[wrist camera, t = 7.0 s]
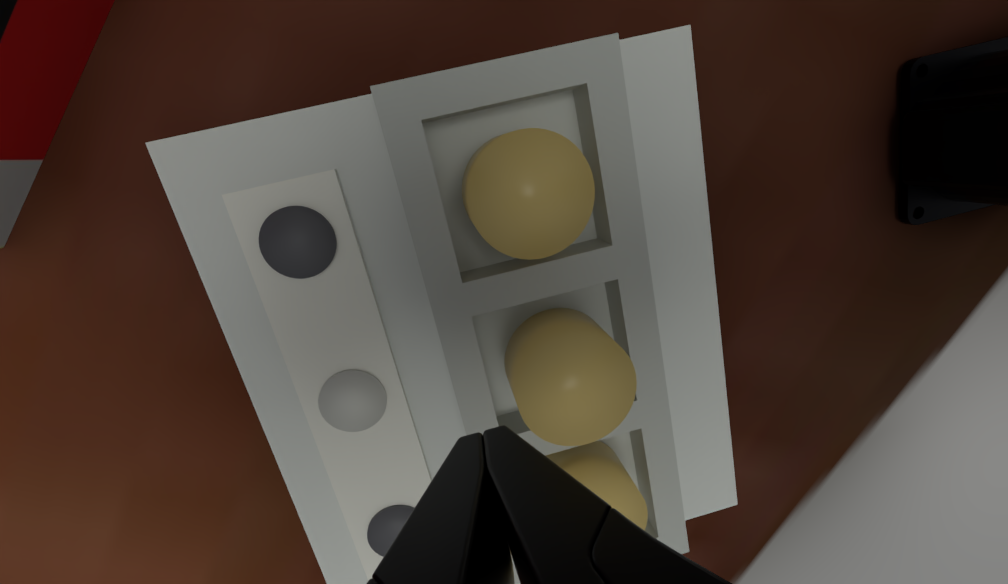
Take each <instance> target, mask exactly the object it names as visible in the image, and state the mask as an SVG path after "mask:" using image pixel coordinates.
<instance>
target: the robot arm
mask: <svg viewBox="0 0 1008 584" xmlns="http://www.w3.org/2000/svg"><path fill="white" fill-rule="evenodd" d="M917 68H918V75H916V70H917ZM995 204H997V205H1008V37H1005V38H1001V39H996V40H992V41H988V42H983V43H979V44H975V45H971V46H966V47H962V48H958V49H953V50H949V51H945V52H940V53H936V54H932V55H927V56H923V57H919V58H914V59H911V60H909V61H908V62H907V63H906V64H905V65H904V66H903V68H902V71H901V92H900V167H899V218H900V220H901V222H903V223H905V224H911V225H919V224H923V223H927V222H930V221H934V220H938V219H942V218H946V217H950V216H953V215H957V214H961V213H965V212H969V211H972V210H976V209H980V208H984V207H988V206H991V205H995ZM914 210H915V213H914V215H913V212H914ZM511 555H512V557H511ZM512 558H513V562H514V565H515V568H516V571H517V575H518V578H519V581H520V584H732V583H730V582H728V581H726V580H725V579H723V578H721V577H719V576H718V575H716V574H714V573H713V572H711V571H709V570H707V569H706V568H704V567H702V566H700V565H699V564H697V563H695V562H693V561H692V560H690V559H688V558H687V557H685V556H683V555H682V554H680V553H679V552H677V551H675V550H674V549H672V548H670V547H669V546H667V545H666V544H664V543H662V542H661V541H659V540H657V539H656V538H654V537H653V536H651V535H650V534H649V533H647V532H646V531H644V530H643V529H642V528H640V527H639V526H637V525H636V524H635V523H633V522H632V521H630V520H629V519H628V518H626V517H625V516H624V515H622V514H621V513H620V512H619V511H617V510H616V509H614V508H612V507H611V506H610V505H609V504H608V503H607V502H605V501H604V500H603V499H601V498H600V497H599V496H597V495H596V494H595V493H593V492H592V491H591V490H589V489H588V488H587V487H586V486H584V485H583V484H582V483H580V482H579V481H578V480H576V479H575V478H574V477H572V476H571V475H570V474H569V473H567V472H566V471H565V470H563V469H562V468H561V467H559V466H558V465H557V464H555V463H554V462H553V461H551V460H550V459H549V458H548V457H546V456H545V455H544V454H542V453H541V452H540V451H538V450H537V449H536V448H534V447H533V446H532V445H530V444H529V443H528V442H527V441H525V440H524V439H523V438H521V437H520V436H519V435H517V434H516V433H515V432H513V431H512V430H511V429H510V428H508V427H507V426H505V425H502V426H498V427H495V428H491V429H487V430H485V431H484V432H483V435H482V433H480V432H477V433H473V434H469V435H466V436H462V437H460V438H459V439H458V440H457V441H456V443H455V445H454V446H453V448H452V449H451V451H450V453H449V454H448V456H447V457H446V459H445V460H444V462H443V464H442V465H441V467H440V468H439V470H438V472H437V473H436V475H435V476H434V478H433V479H432V481H431V483H430V484H429V486H428V487H427V489H426V491H425V492H424V494H423V495H422V497H421V498H420V500H419V502H418V503H417V505H416V506H415V508H414V510H413V511H412V513H411V514H410V516H409V517H408V519H407V521H406V522H405V524H404V525H403V527H402V529H401V530H400V532H399V533H398V535H397V537H396V538H395V540H394V541H393V543H392V544H391V546H390V548H389V549H388V551H387V552H386V554H385V556H384V557H383V559H382V560H381V562H380V563H379V565H378V567H377V568H376V570H375V571H374V573H373V575H372V579H369V581H368V582H367V584H515V580H514V571H513V563H512Z"/></svg>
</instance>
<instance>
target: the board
mask: <svg viewBox="0 0 1008 584" xmlns="http://www.w3.org/2000/svg"><path fill="white" fill-rule="evenodd" d="M370 89H371V92H372V94H368V95H364V96H359V97H354V98H350V99H345V100H340V101H336V102H331V103H327V104H322V105H317V106H313V107H308V108H304V109H299V110H294V111H290V112H285V113H280V114H276V115H271V116H267V117H262V118H257V119H253V120H248V121H244V122H239V123H234V124H230V125H225V126H221V127H216V128H211V129H207V130H202V131H197V132H193V133H188V134H184V135H179V136H174V137H170V138H165V139H161V140H156V141H151V142H147V143H145V144H146V146H147V149H148V151H149V153H150V156H151V158H152V161H153V163H154V166H155V168H156V170H157V173H158V175H159V178H160V180H161V182H162V185H163V187H164V190H165V192H166V195H167V197H168V199H169V202H170V204H171V207H172V209H173V212H174V214H175V216H176V219H177V221H178V224H179V226H180V229H181V231H182V233H183V236H184V238H185V241H186V243H187V246H188V248H189V250H190V253H191V255H192V258H193V260H194V262H195V265H196V267H197V270H198V272H199V275H200V277H201V279H202V282H203V284H204V287H205V289H206V292H207V294H208V296H209V299H210V301H211V304H212V306H213V309H214V311H215V313H216V316H217V318H218V321H219V323H220V326H221V328H222V330H223V333H224V335H225V338H226V340H227V342H228V345H229V347H230V350H231V352H232V355H233V357H234V359H235V362H236V364H237V367H238V369H239V372H240V374H241V376H242V379H243V381H244V384H245V386H246V389H247V391H248V393H249V396H250V398H251V401H252V403H253V406H254V408H255V410H256V413H257V415H258V418H259V420H260V422H261V425H262V427H263V430H264V432H265V435H266V437H267V439H268V442H269V444H270V447H271V449H272V452H273V454H274V456H275V459H276V461H277V464H278V466H279V469H280V471H281V473H282V476H283V478H284V481H285V483H286V486H287V488H288V490H289V493H290V495H291V498H292V500H293V503H294V505H295V507H296V510H297V512H298V515H299V517H300V519H301V522H302V524H303V527H304V529H305V532H306V534H307V536H308V539H309V541H310V544H311V546H312V549H313V551H314V553H315V556H316V558H317V561H318V563H319V566H320V568H321V570H322V573H323V575H324V578H325V580H326V583H327V584H367V582H368V581H369V579H372V575H373V573H374V571H375V570H376V568H377V567H378V565H379V563H380V562H381V560H382V559H383V557H384V556H385V554H386V552H387V551H388V549H389V548H390V546H391V544H392V543H393V541H394V540H395V538H396V537H397V535H398V533H399V532H400V530H401V529H402V527H403V525H404V524H405V522H406V521H407V519H408V517H409V516H410V514H411V513H412V511H413V510H414V508H415V506H416V505H417V503H418V502H419V500H420V498H421V497H422V495H423V494H424V492H425V491H426V489H427V487H428V486H429V484H430V483H431V481H432V479H433V478H434V476H435V475H436V473H437V472H438V470H439V468H440V467H441V465H442V464H443V462H444V460H445V459H446V457H447V456H448V454H449V453H450V451H451V449H452V448H453V446H454V445H455V443H456V441H457V440H458V439H459V438H460V437H462V436H466V435H469V434H473V433H477V432H480V433H482V435H483V432H484V431H485V430H487V429H491V428H495V427H498V426H502V425H505V426H507V427H508V428H510V429H511V430H512V431H513V432H515V433H516V434H517V435H519V436H520V437H521V438H523V439H524V440H525V441H527V442H528V443H529V444H530V445H532V446H533V447H534V448H536V449H537V450H538V451H540V452H541V453H542V454H544V455H545V456H546V455H549V454H553V453H556V452H560V451H563V450H567V449H570V448H574V447H577V446H561V445H556V444H552V443H550V442H547V441H545V440H543V439H541V438H540V437H538V436H537V435H535V434H534V433H533V432H532V431H531V430H530V429H529V428H528V427H527V425H526V424H525V422H524V421H523V419H522V417H521V414H520V412H519V409H518V406H517V403H516V401H515V398H514V395H513V392H512V390H511V387H510V384H509V381H508V379H507V375H506V372H505V364H504V359H505V352H506V348H507V345H508V342H509V340H510V338H511V336H512V335H513V333H514V332H515V330H516V329H517V328H518V327H519V326H520V325H521V324H522V323H523V322H524V321H525V320H527V319H528V318H529V317H531V316H533V315H534V314H537V313H539V312H541V311H544V310H548V309H553V308H569V309H574V310H577V311H580V312H582V313H584V314H586V315H588V316H589V317H590V318H592V319H593V320H594V321H595V322H596V323H597V324H598V325H599V326H600V327H601V328H602V329H603V330H604V331H605V332H606V333H607V334H608V335H609V336H610V337H611V338H612V339H613V340H614V341H615V342H616V343H617V344H618V345H619V346H620V347H622V348H623V349H624V351H625V352H626V353H627V354H628V356H629V357H630V359H631V361H632V363H633V366H634V368H635V372H636V379H637V388H636V395H635V399H634V402H633V405H632V407H631V409H630V411H629V413H628V414H627V416H626V417H625V419H624V420H623V421H622V422H621V424H620V425H619V426H618V427H617V428H616V429H614V430H613V431H612V432H611V433H609V434H608V435H606V436H605V437H603V438H601V439H599V440H597V441H600V442H603V443H604V444H606V445H608V446H609V447H610V448H611V449H612V450H613V451H614V452H615V453H616V455H617V457H618V458H619V460H620V461H621V463H622V465H623V466H624V468H625V469H626V471H627V472H628V474H629V476H630V477H631V479H632V480H633V482H634V483H635V485H636V487H637V488H638V490H639V491H640V493H641V495H642V496H643V498H644V500H645V502H646V505H647V510H648V520H647V525H646V528H645V531H646V532H647V533H649V534H650V535H651V536H653V537H654V538H656V539H657V540H659V541H661V542H662V543H664V544H666V545H667V546H669V547H670V548H672V549H674V550H675V551H677V552H679V553H680V554H683V553H686V552H689V546H688V539H687V532H686V524H685V520H688V519H692V518H695V517H698V516H701V515H705V514H708V513H711V512H715V511H718V510H721V509H725V508H728V507H731V506H734V505H738V504H737V494H736V484H735V473H734V463H733V453H732V443H731V433H730V422H729V412H728V402H727V392H726V382H725V371H724V361H723V351H722V341H721V331H720V321H719V310H718V300H717V290H716V280H715V270H714V259H713V249H712V239H711V229H710V219H709V208H708V198H707V188H706V178H705V168H704V157H703V147H702V137H701V127H700V117H699V107H698V96H697V86H696V76H695V66H694V56H693V45H692V35H691V25H687V26H682V27H677V28H673V29H668V30H663V31H659V32H654V33H650V34H645V35H640V36H636V37H631V38H627V39H622V40H619V35H618V33H615V34H610V35H605V36H601V37H596V38H591V39H587V40H582V41H578V42H573V43H568V44H564V45H559V46H554V47H550V48H545V49H540V50H536V51H531V52H526V53H522V54H517V55H513V56H508V57H503V58H499V59H494V60H489V61H485V62H480V63H475V64H471V65H466V66H462V67H457V68H452V69H448V70H443V71H438V72H434V73H429V74H424V75H420V76H415V77H410V78H406V79H401V80H397V81H392V82H387V83H383V84H378V85H373V86H370ZM525 128H540V129H546V130H550V131H554V132H556V133H558V134H560V135H562V136H564V137H566V138H567V139H569V140H570V141H571V142H572V143H574V144H575V145H576V146H577V147H578V149H579V150H580V151H581V152H582V154H583V155H584V156H585V158H586V160H587V162H588V164H589V166H590V168H591V171H592V174H593V179H594V185H595V199H594V206H593V210H592V213H591V216H590V219H589V221H588V223H587V225H586V227H585V228H584V230H583V231H582V233H581V234H580V235H579V237H578V238H577V239H576V240H575V241H574V242H573V243H572V244H570V245H569V246H568V247H567V248H565V249H564V250H562V251H560V252H559V253H556V254H554V255H552V256H549V257H546V258H541V259H532V260H527V259H518V258H514V257H511V256H508V255H505V254H503V253H501V252H499V251H498V250H496V249H495V248H493V247H492V246H491V245H490V244H489V243H487V242H486V241H485V239H484V238H483V237H482V236H481V235H480V233H479V232H478V230H477V229H476V227H475V226H474V224H473V223H472V221H471V220H470V218H469V217H468V214H467V212H466V210H465V207H464V204H463V198H462V180H463V176H464V172H465V169H466V166H467V164H468V162H469V161H470V159H471V157H472V156H473V154H474V153H475V152H476V151H477V150H478V149H479V148H480V147H481V146H482V145H483V144H484V143H486V142H487V141H489V140H490V139H492V138H494V137H496V136H499V135H502V134H505V133H509V132H512V131H516V130H519V129H525ZM580 446H581V445H580ZM511 557H512V555H511ZM512 563H513V571H514V580H515V584H520V581H519V578H518V575H517V571H516V568H515V565H514V562H513V558H512Z"/></svg>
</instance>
